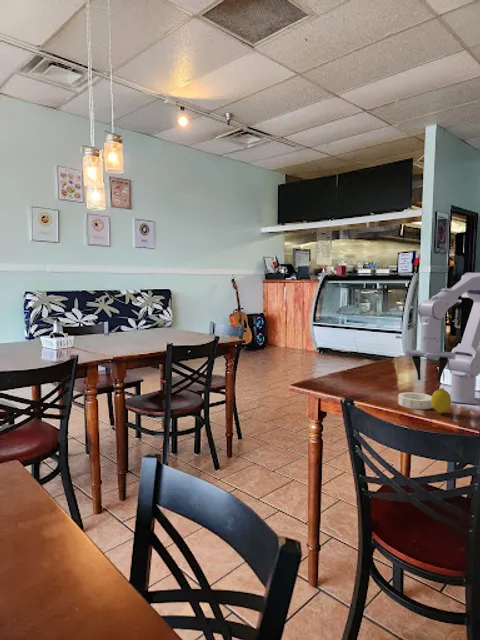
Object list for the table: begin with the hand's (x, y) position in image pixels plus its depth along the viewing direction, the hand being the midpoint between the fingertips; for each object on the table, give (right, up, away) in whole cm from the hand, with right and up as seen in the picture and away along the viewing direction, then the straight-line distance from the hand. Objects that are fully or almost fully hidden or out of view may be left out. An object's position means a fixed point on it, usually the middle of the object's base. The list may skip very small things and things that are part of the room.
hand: (428, 380), depth 141 cm
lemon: (+2, -10, -4) cm, 11 cm away
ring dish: (-2, -9, +6) cm, 11 cm away
